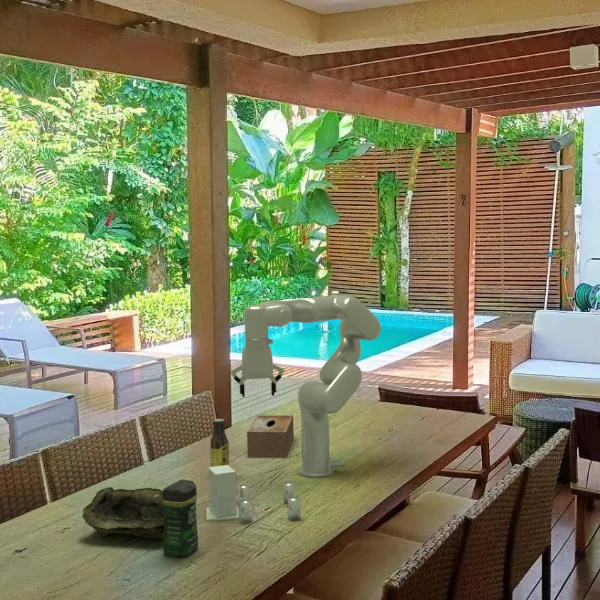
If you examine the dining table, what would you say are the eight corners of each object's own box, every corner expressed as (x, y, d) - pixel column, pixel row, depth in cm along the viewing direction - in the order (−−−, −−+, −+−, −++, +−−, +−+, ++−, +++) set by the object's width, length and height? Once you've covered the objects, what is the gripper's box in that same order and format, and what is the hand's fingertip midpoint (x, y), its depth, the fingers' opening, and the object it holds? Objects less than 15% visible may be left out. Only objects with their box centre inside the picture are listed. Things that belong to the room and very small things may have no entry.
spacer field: (294, 500, 256) (294, 481, 255) (300, 520, 238) (300, 500, 238) (238, 503, 254) (237, 484, 253) (240, 523, 236) (239, 503, 236)
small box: (237, 514, 242) (236, 471, 241) (216, 517, 240) (215, 474, 238) (229, 506, 250) (228, 464, 248) (209, 509, 247) (207, 467, 246)
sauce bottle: (226, 480, 276) (224, 422, 274) (208, 479, 278) (206, 422, 276) (231, 474, 283) (230, 418, 281) (214, 473, 284) (212, 417, 282)
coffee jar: (186, 560, 212) (183, 490, 210) (159, 556, 214) (156, 487, 213) (203, 546, 221) (201, 478, 219) (177, 542, 223) (175, 476, 222)
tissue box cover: (257, 439, 328) (257, 415, 327) (293, 440, 327) (293, 415, 326) (247, 458, 303) (247, 431, 302) (286, 458, 301) (286, 432, 300)
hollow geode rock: (180, 557, 225) (198, 506, 234) (163, 538, 216) (182, 486, 224) (93, 542, 235) (113, 494, 243) (73, 523, 225) (94, 474, 234)
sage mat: (238, 507, 250) (237, 505, 250) (239, 519, 240) (239, 517, 240) (206, 509, 249) (206, 507, 249) (206, 521, 239) (206, 519, 239)
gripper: (282, 341, 270) (283, 392, 271) (229, 342, 268) (231, 394, 269) (284, 344, 262) (285, 396, 264) (230, 346, 260) (231, 399, 262)
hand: (258, 395), depth 267 cm, fingers open, 9 cm apart
